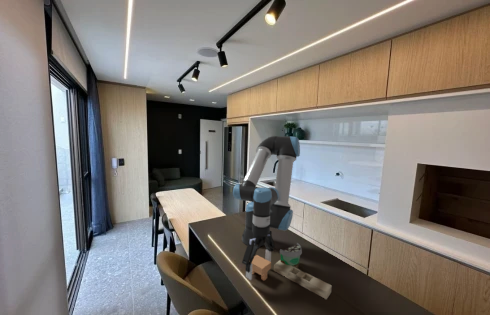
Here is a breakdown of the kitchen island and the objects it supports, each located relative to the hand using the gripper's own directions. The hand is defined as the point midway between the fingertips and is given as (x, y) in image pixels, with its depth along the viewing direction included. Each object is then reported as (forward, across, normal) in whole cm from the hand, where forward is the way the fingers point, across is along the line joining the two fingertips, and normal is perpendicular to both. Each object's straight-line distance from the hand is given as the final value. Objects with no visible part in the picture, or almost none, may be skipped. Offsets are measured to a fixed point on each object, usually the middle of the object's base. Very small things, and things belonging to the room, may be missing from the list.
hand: (258, 270), depth 89 cm
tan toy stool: (+2, 0, 0) cm, 2 cm away
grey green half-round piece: (+3, +16, -8) cm, 18 cm away
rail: (+2, +10, -15) cm, 18 cm away
